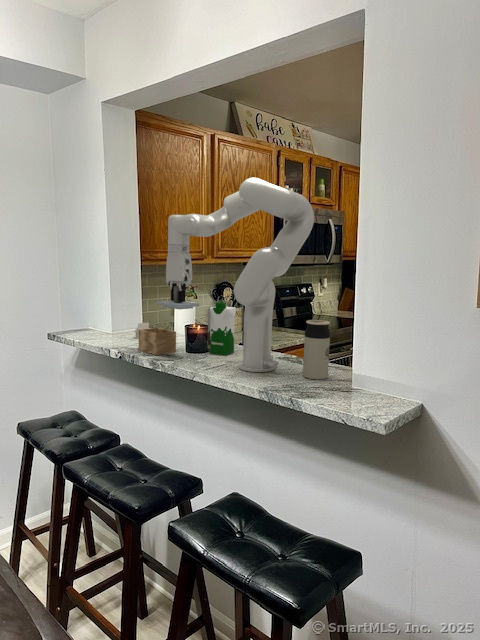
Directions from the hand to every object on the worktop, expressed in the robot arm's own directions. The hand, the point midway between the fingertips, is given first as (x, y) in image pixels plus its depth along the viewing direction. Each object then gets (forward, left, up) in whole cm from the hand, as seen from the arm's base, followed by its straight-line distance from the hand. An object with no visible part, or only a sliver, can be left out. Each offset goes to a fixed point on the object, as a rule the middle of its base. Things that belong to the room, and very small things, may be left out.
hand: (178, 300), depth 172 cm
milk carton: (-5, -18, -21) cm, 28 cm away
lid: (0, 0, -2) cm, 2 cm away
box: (+14, -1, -21) cm, 25 cm away
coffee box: (+4, -25, -21) cm, 33 cm away
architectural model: (+40, -13, -22) cm, 48 cm away
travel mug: (-50, -16, -21) cm, 57 cm away
